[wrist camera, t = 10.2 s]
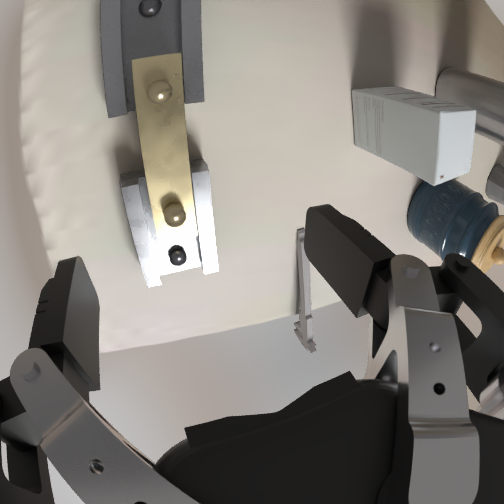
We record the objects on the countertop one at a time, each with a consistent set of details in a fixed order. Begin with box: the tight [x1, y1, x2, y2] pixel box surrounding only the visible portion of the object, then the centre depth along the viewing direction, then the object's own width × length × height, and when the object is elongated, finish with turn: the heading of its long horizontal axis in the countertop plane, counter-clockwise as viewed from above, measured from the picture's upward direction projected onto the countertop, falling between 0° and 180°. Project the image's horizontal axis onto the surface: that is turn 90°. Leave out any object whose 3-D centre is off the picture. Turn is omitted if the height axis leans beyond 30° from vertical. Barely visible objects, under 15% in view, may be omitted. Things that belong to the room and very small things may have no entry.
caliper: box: [294, 229, 316, 353], centre depth 40 cm, size 20×1×6 cm, turn 5°
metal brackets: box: [100, 0, 218, 288], centre depth 23 cm, size 8×28×4 cm, turn 1°
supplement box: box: [352, 86, 476, 186], centre depth 26 cm, size 7×7×13 cm
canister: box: [407, 178, 504, 274], centre depth 37 cm, size 13×13×18 cm
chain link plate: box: [132, 53, 198, 244], centre depth 20 cm, size 3×14×6 cm, turn 1°
